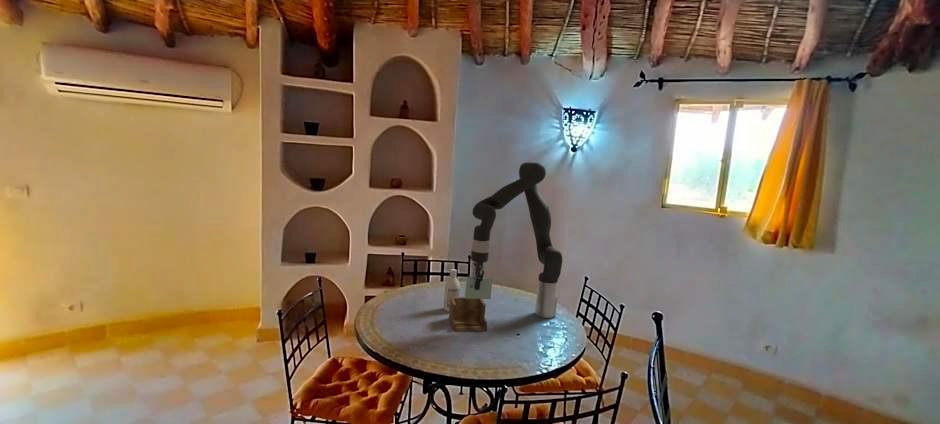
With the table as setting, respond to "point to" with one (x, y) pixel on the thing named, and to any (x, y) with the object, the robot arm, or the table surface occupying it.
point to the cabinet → (467, 314)
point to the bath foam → (451, 289)
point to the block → (482, 292)
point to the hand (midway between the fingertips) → (476, 288)
